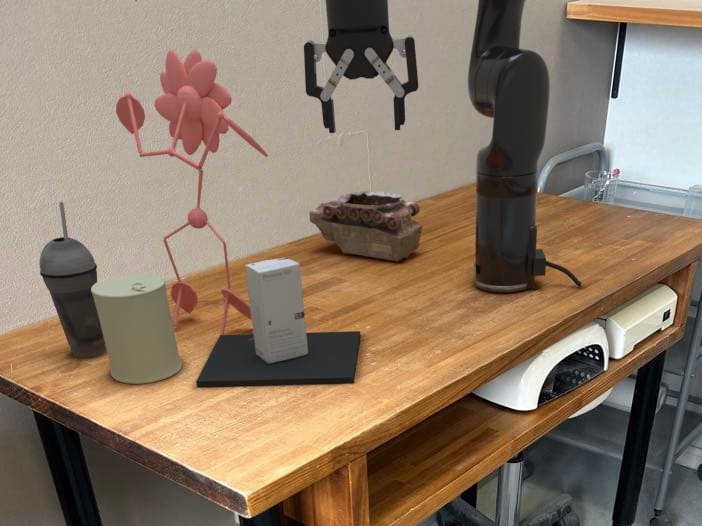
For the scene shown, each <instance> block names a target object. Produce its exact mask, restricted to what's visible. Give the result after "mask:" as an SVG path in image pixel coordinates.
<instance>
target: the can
mask: <svg viewBox="0 0 702 526" xmlns="http://www.w3.org/2000/svg"><path fill="white" fill-rule="evenodd" d="M91 292H92V294H93V297H94V301H95V305H96V309H97V313H98V316H99V320H100V324H101V328H102V332H103V336H104V341H105V346H106V352H107V353H106V354H107V356H108V357H107V358H108V361H109V366H110V375H111V377H112V378H113V380H115V381H117V382H120V383H123V384H130V385H141V384H150V383H156V382H160V381H163V380H165V379H169V378H170V377H173V376H174V375H176V374H177V373H179V371H181V369H182V367H183V362H182V360H181V358H180V353H179V348H178V345H177V339H176V335H175V329H174V325H173V323H174V322H173V319H172V313H171V307H170V303H169V298H168V291H167V286H166V279H165V278H164V277H163V276H161V275H159V274H155V273H147V272H134V273H124V274H119V275H118V274H117V275H114V276H113V275H112V276H110V277H107V278H104V279H102V280H99V281H97V283H95V284H94V285H93V286H92V288H91Z"/></svg>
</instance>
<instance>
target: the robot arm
mask: <svg viewBox="0 0 702 526" xmlns="http://www.w3.org/2000/svg"><path fill="white" fill-rule="evenodd" d="M477 3H478V4H477V11H476V19H475V25H474V31H473V32H474V33H473V38H472V44H471V50H470V56H469V57H470V58H469V64H468V72H467V92H468V97H469V100H470V103H471V105H472V107H473V108H474V109H475V111H476V112H477V113H478V114H480V115H481V116H484V117H486V118H490V119H492V121H493V122H492V134H491V139H490V142H489V143H488V144H487V145H486V146H483V147H481V148H480V149H479V150H478V152H477V153H476V167H475V170H476V171H475V173H476V174H475V244H474V245H475V248H474V251H475V252H474V259H473V260H472V261H473V266H472V267H473V272H474V283H473V284H474V286H475V287H476V288H478V289H480V290H482V291H485V292H490V293H499V294H501V293H503V294H504V293H505V294H507V293H508V294H509V293H517V292H521V291H525V290H534V289H535V280H536V279H535V278H536V277H543V276H546V271H547V268H546V267H549V268H552V269H554V270H557V271H559V272H561V273H563V274H565V275H566V276H568V277H569V279H571V280H572V282H573V283H574V284H575V285H576V286H577V287H582V281H580V280H579V278H578V277H576V276H575V274H574V273H572V271H570V270H569V269H567V268H566V267H563V266H562V265H559V264H557V263H553V262H550V261H548V260H547V257H546V254H545V252H544V249H543V248H537V239H538V227H537V226H538V225H537V223H536V218H537V217H536V215H537V200H538V199H537V197H538V177H539V162H540V158H541V155H542V153H543V150H544V147H545V144H546V139H547V138H546V136H547V128H548V127H547V126H548V117H549V116H548V115H549V108H550V96H551V95H550V94H551V81H550V72H549V68H548V66H547V63H546V61H545V59H544V58H543V57H542V56H541V54H539V53H538V52H537V51H535V50H531V49H527V48H521V47H520V45H521V44H520V42H521V32H522V31H521V30H522V22H523V14H524V9H525V3H526V0H478V2H477ZM325 9H326V21H327V22H326V23H327V39H326V42H314V40H307V41H306V42H305V43H304V45H303V59H304V60H303V61H304V82H305V83H304V85H305V93H306V95H307V96H308V97H312V98H316V99H317V100H319V101H320V103H321V104H320V105H321V114H322V123H323V124H322V125H323V127H324V129H328V133H329V134H335V133H336V130H337V129H336V128H337V127H336V115H335V104H334V99H333V98H332V95H333V93H334V91H335V90H336V89H337V86H338V85H339V84H340V81H341V80H342V78H343V77H344V78H346V79H348V80H349V81H350V80H358V79H360V78H363V79H368V80H369V79H370V80H371V79H372V80H373V79H375V78H376V77H378V76H380V77H381V79H382V80H383V82H384V83H385V84H386V85H387V86H388V87H389V89H390V91H392V93H393V95H394V96H393V118H394V131H401V126H405V122H406V103H405V102H406V101H405V99H406V96H407V95H409V94H411V93H413V92H417V90H418V89H419V75H418V65H417V53H416V42H415V37H414V36H412V35H407V36H406V37H400V38H393V37H392V36H391V33H390V22H389V21H390V18H389V0H325ZM394 49H396V50H397V51H398V54H399V56H400V57H401V58H403V59H404V58H405V61H406V72H407V81H405V82H402V83H401V81H400V79H399V78H398V77H397V75H396V74H395V72H394V71H393V70H392V68H391V67H390V65H389V64H388V63H387V62H388V60H389V58H390V56H391V55H392V53H393V52H394ZM324 53H326V54H327V56H328V58H329V59H330V60H331V62H332V63H333V64H334V66H335V68H334V69H333V71H332V73H331V74H330V76H329V78H328V79H327V82H326V84H325V85H324V86H321V85H318V80H317V79H318V78H317V63H318V62H320V61H321V59H322V57H323V54H324Z"/></svg>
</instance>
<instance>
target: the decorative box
mask: <svg viewBox="0 0 702 526" xmlns="http://www.w3.org/2000/svg"><path fill="white" fill-rule="evenodd" d="M419 213H420V205H419V203H417V201H407V202H406V201H405V200H404V195H403V194H400V193H395V192H386V191H368V190H367V191H366V190H365V191H355V192H350V193H347V194H345V195H341V196H340V197H338V199H337V200H331V201H329V202H325V203H323V202H321V203H320V204H319V206H317V207H316V208H315V209H313V210H310V211H309V221H310V223H311V224H313V225H315V226H316V228H317V229H318V230H319V231H320V234H321V236H322V238H323V240H325V241H329V242H334V243H335V245H337V246H338V247H339V248H340V250H341V253H343V254H350V255H356V256H357V255H358V256H363V257H366V258H367V257H369V258H376V259H381V260H388V261H394V262H399V261H400V260H403V259H404V258H405V259H408V257H409V256H410V255H411V254H412V253H413V252H415V251H416V250H418V249H419V247H420V240H421V235H422V231H423V227H424V226H423V224H422V223H420V222H418V221H416V220H413V217H415V216H416V215H418V214H419Z"/></svg>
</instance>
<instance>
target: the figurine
mask: <svg viewBox="0 0 702 526" xmlns="http://www.w3.org/2000/svg"><path fill="white" fill-rule="evenodd" d="M164 64H165V71H164V70H162V71H161V73H160V74H159V80H160V84H161V89H162V91H163V94H161V95H159V96H157V98H156V99H155V100H154V108H155V111H156V112H157V113H158V114H159V115H160V116H161V117H162V118H164V119H165V120H166V121H168V122H169V124H168V132H169V136H170V137H171V138H172V142H171V145H170V147H168V148H167V149H164V150H154V151H144V152H143V147H142V143H141V139H140V135H139V130H140V129H141V128H143V126H144V123H145V120H146V114H145V109H144V107H143V104H141V102H140V100H139V99H138V98H136V97H135V96H133V95H132V93H131V92H129V91H127V92H125V94H124V95H120V96H119V98H118V100H117V102H116V103H115V114H116V115H117V118H118V120H119V122H120V124H122V125H123V127H124V129H126V130H127V131H128V132H129V133H130V134H131V135H133V134H134V138H135V142H136V143H135V144H136V148H137V153H138V154H139V158H145V157H146V158H147V157H153V156H154V157H155V156H163V155H168V156H169V157H170V158H171V157H175V158H177V159H178V160H180V161H182V162H184V163H185V164H187V165H189V166H190V167H192V168H194V169H195V170H197V171H198V184H197V202H196V207H194V208H192V209H190V210H189V211H188V214H187V222H186V223H184V224H182V225H181V226H179V227H178V228H176V229H175V230H173V231H172V232H170V233H169V234H167V235H165V236H164V237H163V240H162V241H163V243H164V246H165V249H166V251H167V255H168V256H169V260H170V262H171V265H172V268H173V271H174V274H175V276H176V279H177V281H175V282H174V283H172V286H171V289H170V296H171V299H172V301H173V302H174V303H175V310H174V317H173V322H172V323H173V327H178V324H179V323H178V322H179V316H180V309H182V310H183V311H184V312H186V313H188V314H189V315H190V314H191V313H192V312H193V311H194V310H195V308H196V306H197V305H198V304H200V303H209V302H224V305H223V313H222V318H221V324H220V331H219V334H220V335H225V329H226V323H227V318H228V317H227V316H228V311H229V305H231V306H232V307H233V308H234V309H235V310H236V311H237V312H239V313H240V314H242V315H243V316H244V317H246V318H248V319H249V320H251V321H252V318H251V311H250V304H248V303H249V300H246V299H245V300H244V299H243V298H242V297H240V295H238V294H237V293H235V292H234V291H232V289H231V280H230V269H229V260H228V252H227V251H228V249H227V243H226V241H225V240H224V239H223V237H221V235H220V234H219V233H218V231H217V230H216V229H215V228H214V226H212V224H211V223H210V221H208V220H209V219H208V215H207V213H206V212H205V210H203V209H202V208H201V198H202V188H203V178H204V170H203V167H204V164H205V162H206V159H207V157H208V154H209V153H210V152H211V153H212V154H214V153H217V151H218V150H219V146H220V135H226V134H227V133H228V132H229V128H231V129H232V130H233V132H235V133H236V134H237V135H238V136H239V137H240V138H242V139H243V140H244V141H245V142H246V143H248V145H250V146H251V147H253V148H254V149H255V150H256V151H258V152H259V153H260V154H262V155H263V156H264V157H265V158H268V157H269V154H268V153H267V152H266V151H265V150H264V149H263V148H262V147H261V146H260V144H259V143H258V142H257V141H256V140H254V138H253V137H251V135H249V134H248V133H247V132H246V131H245V130H244V129H243V128H242V127H240V126H239V124H237V123H236V122H235V121H233V120H232V119H231V118H230V117H228V116H227V115H226V114H225V112H224V109H226V108H228V107H229V106H231V104H232V95H231V94H230V92H229V91H228V90H227V89H226V88H225V87H224V86H223V85H221V84H219V83H217V82H215V81H216V77H217V72H218V69H217V66H216V63H215V62H213V61H212V60H210V59H209V60H207V59H205V60H202V55H201V52H200V51H199V50H198V49H194V50H191V52H190V53H188V54H187V56H186V58H185V60H184V62H182V60H181V58H180V57H179V55H178V54H177V53H176V52H175V50H171V49H170V50H168V51H167V53H166V57H165V63H164ZM179 140H180V141H181V142H182V148H183V150H184V153H186V154H187V155H188V156H192V155H194V154H195V153H196V152H197V151H198V149H199V147H200V145H201V144H202V143H203V144H204V146H205V148H204V151H203V152H202V154H201V155H202V156H201V157H200V160H199V163H198V162H196V161H194V160H193V159H191V158H189V157H186V156H185V155H183V154H181V153H179V152H177V151H176V148H177V144H178V141H179ZM188 226H191V227H192V228H194V229H203V228H205V227H206V226H208V227H209V229H210V230H211V231H212V232H213V233H214V235H215V236H216V237H217V238H218V239H219V241H220V242H221V243H222V244H223V245H222V246H223V253H224V263H225V272H226V273H225V274H226V281H227V288H226V287H221V291H220V292H221V295H222V296H223V297H224V298H219V299H217V298H216V299H215V300H213V299H212V300H202V301H198V294H197V292H196V290H195V289H194V288H193V287H192V285H190V284H189V283H188V282H186V281H183V280H181V277H180V274H179V272H178V271H179V270H178V268H177V266H176V263H175V261H174V258H173V255H172V252H171V250H170V246H169V244H168V241H167V239H169V238H170V237H172V236H173V235H175V234H177V233H179V232H180V231H182V230H183V229H185V228H186V227H188ZM252 339H254V338H251V339H248V340H252Z"/></svg>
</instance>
